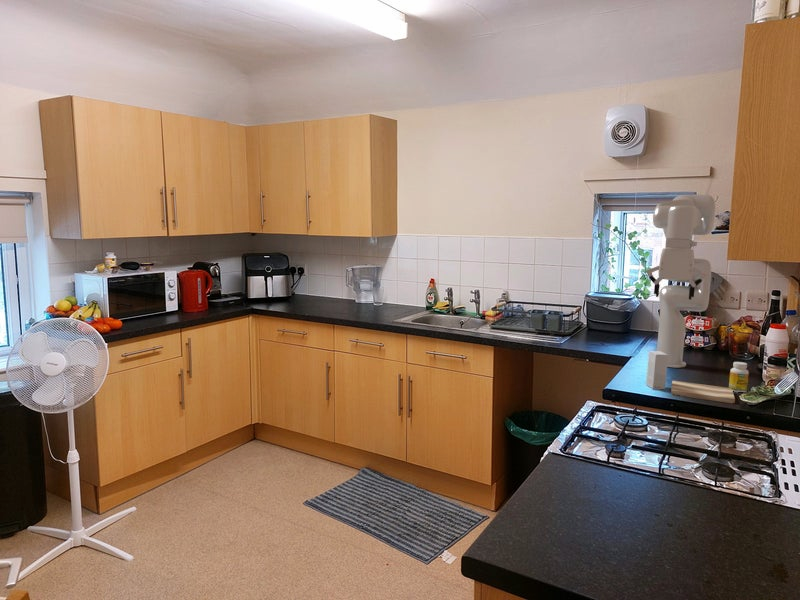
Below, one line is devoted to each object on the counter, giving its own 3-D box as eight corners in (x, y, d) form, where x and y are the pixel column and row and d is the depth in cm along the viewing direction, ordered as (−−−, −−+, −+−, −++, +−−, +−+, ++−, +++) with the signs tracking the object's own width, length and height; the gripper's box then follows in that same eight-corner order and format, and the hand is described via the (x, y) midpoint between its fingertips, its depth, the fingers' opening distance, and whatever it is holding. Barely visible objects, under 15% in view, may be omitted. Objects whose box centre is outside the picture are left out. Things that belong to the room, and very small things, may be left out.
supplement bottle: (739, 388, 201) (742, 361, 200) (750, 393, 196) (753, 365, 194) (724, 388, 200) (727, 361, 199) (735, 393, 195) (738, 365, 194)
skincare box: (665, 390, 196) (668, 354, 194) (652, 389, 196) (655, 354, 194) (657, 385, 202) (661, 350, 200) (645, 384, 202) (648, 350, 200)
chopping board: (671, 384, 203) (672, 380, 203) (731, 392, 195) (731, 388, 195) (670, 394, 190) (671, 390, 190) (734, 403, 183) (734, 399, 182)
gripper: (708, 245, 187) (702, 299, 190) (649, 243, 195) (645, 294, 197) (709, 246, 181) (703, 301, 183) (648, 243, 188) (643, 296, 190)
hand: (673, 297), depth 190 cm, fingers open, 9 cm apart
